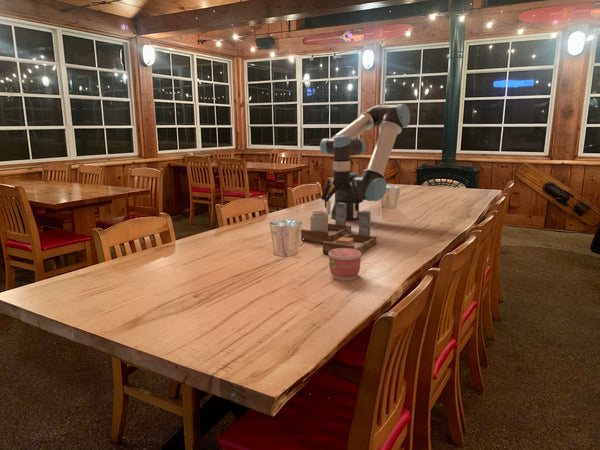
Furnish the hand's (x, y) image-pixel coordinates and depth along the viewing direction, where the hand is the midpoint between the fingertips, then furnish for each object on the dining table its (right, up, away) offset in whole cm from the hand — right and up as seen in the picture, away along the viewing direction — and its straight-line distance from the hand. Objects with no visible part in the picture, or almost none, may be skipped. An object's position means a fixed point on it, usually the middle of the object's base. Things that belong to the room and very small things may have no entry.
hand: (341, 216), depth 203 cm
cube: (-2, -14, -34) cm, 37 cm away
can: (-11, -10, -17) cm, 23 cm away
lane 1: (-6, -8, -9) cm, 14 cm away
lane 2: (+2, -13, -28) cm, 31 cm away
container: (-5, -21, -61) cm, 65 cm away
